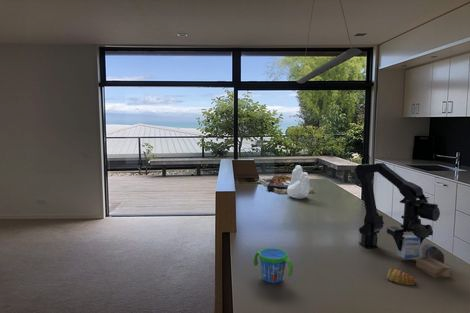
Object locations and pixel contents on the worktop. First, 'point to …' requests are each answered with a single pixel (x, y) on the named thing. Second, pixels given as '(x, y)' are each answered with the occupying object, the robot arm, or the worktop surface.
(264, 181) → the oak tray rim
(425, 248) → the perforated stone tool
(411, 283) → the pastry
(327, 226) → the worktop surface
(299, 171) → the decorative rooster
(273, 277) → the snack cup
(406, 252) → the medicine box
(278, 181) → the food platter
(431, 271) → the walnut pedestal block
